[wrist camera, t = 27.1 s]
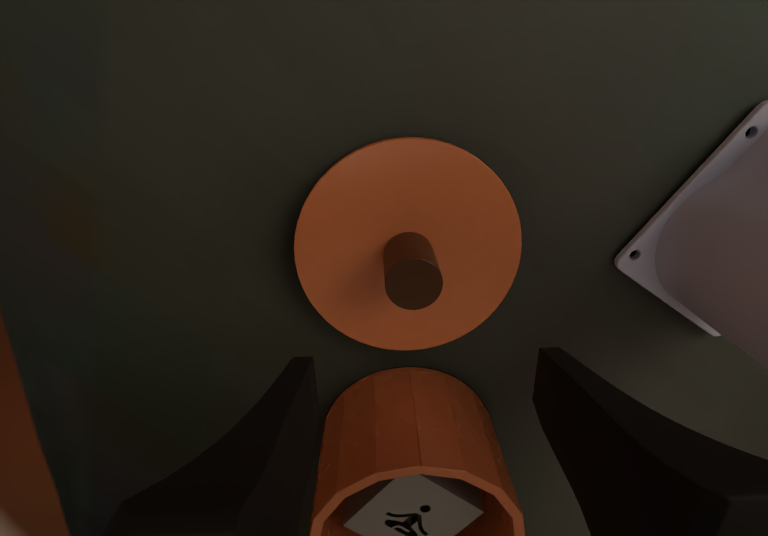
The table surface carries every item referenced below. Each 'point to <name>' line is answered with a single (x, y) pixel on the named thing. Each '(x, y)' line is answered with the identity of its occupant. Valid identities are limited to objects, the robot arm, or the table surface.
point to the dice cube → (413, 507)
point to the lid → (407, 243)
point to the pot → (412, 447)
